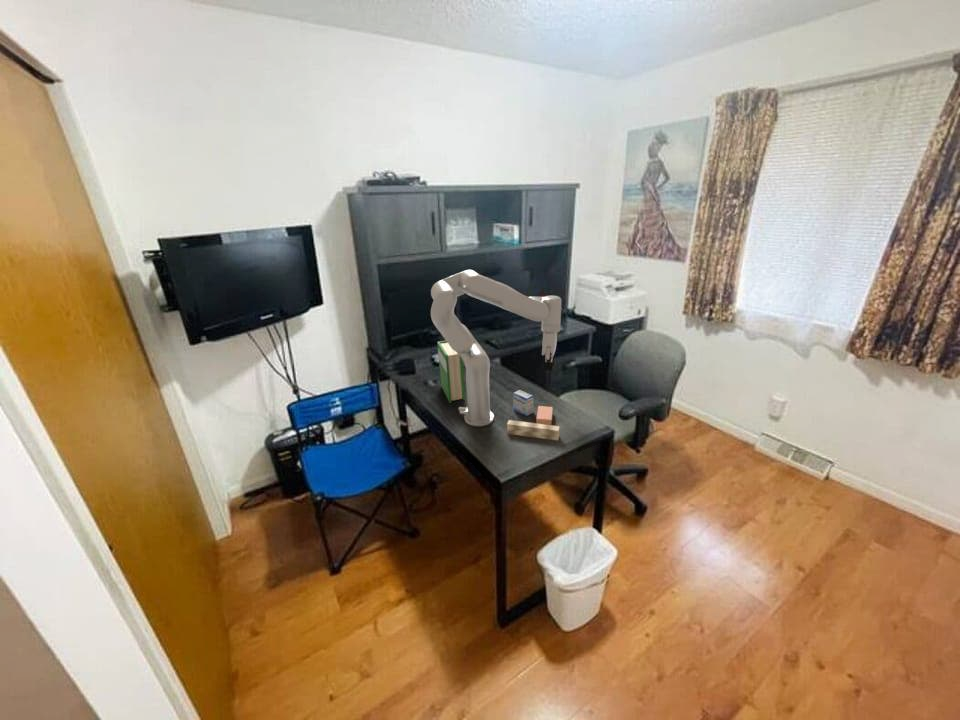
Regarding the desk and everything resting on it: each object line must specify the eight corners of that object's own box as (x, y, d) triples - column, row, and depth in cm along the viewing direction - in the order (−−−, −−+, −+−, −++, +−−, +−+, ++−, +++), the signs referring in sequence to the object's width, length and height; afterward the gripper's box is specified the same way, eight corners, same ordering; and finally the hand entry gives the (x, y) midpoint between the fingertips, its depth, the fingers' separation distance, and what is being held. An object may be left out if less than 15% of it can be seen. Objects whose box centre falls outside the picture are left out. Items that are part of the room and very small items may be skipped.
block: (536, 426, 156) (536, 418, 155) (538, 413, 165) (538, 405, 164) (551, 428, 155) (551, 419, 154) (552, 415, 164) (552, 407, 162)
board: (507, 433, 152) (507, 424, 150) (508, 429, 155) (508, 420, 153) (558, 440, 147) (558, 430, 145) (559, 436, 149) (559, 426, 148)
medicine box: (512, 410, 168) (512, 392, 165) (519, 406, 171) (519, 389, 168) (526, 416, 163) (527, 398, 160) (533, 412, 166) (533, 395, 162)
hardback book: (465, 400, 178) (462, 352, 168) (449, 403, 176) (445, 355, 167) (455, 383, 194) (452, 339, 184) (441, 386, 192) (437, 341, 182)
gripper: (544, 319, 163) (543, 359, 170) (538, 333, 148) (537, 375, 156) (562, 320, 161) (560, 360, 168) (558, 334, 146) (556, 377, 154)
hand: (549, 367), depth 162 cm, fingers open, 3 cm apart
